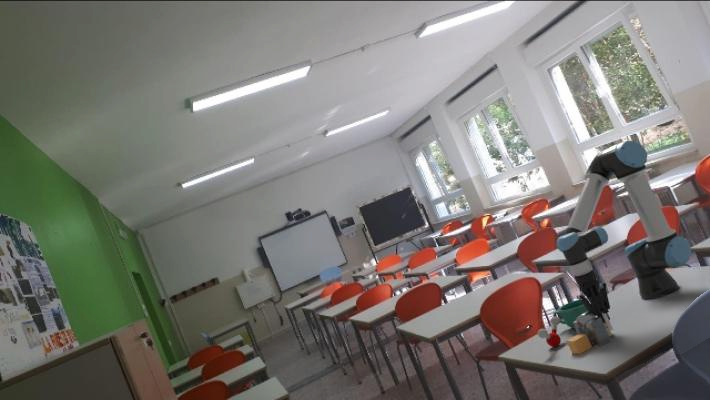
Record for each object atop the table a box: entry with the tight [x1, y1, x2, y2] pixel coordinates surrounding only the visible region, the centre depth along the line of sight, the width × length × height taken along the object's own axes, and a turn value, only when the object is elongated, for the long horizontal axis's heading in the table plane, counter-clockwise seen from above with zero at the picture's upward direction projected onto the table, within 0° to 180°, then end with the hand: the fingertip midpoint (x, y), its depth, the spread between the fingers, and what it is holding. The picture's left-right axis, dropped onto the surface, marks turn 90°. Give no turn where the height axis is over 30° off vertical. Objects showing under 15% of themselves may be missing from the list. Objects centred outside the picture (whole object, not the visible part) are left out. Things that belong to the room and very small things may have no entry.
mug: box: [552, 298, 589, 329], centre depth 245 cm, size 17×13×10 cm
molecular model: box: [537, 316, 562, 348], centre depth 231 cm, size 18×6×10 cm, turn 139°
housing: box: [572, 311, 612, 347], centre depth 216 cm, size 5×11×12 cm, turn 16°
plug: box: [566, 327, 613, 355], centre depth 215 cm, size 16×4×5 cm, turn 106°
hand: (609, 329), depth 217 cm, fingers closed
